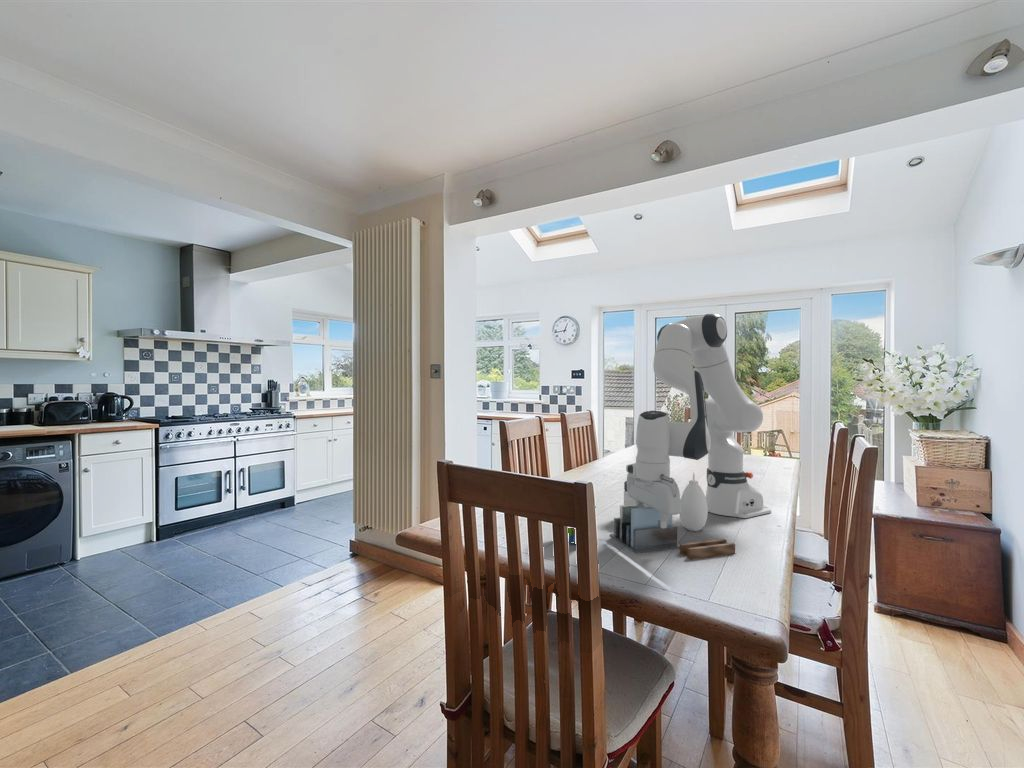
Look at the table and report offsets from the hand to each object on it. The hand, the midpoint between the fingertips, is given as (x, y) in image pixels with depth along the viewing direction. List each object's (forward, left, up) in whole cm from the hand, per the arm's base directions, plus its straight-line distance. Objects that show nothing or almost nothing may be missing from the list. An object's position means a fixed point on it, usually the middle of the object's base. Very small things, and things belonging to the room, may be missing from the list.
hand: (652, 521), depth 126 cm
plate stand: (-11, +9, -7) cm, 16 cm away
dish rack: (0, -3, -7) cm, 8 cm away
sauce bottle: (-20, -8, -8) cm, 23 cm away
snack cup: (+17, -11, -8) cm, 22 cm away
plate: (0, 0, -6) cm, 6 cm away
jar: (-10, -23, -8) cm, 27 cm away
